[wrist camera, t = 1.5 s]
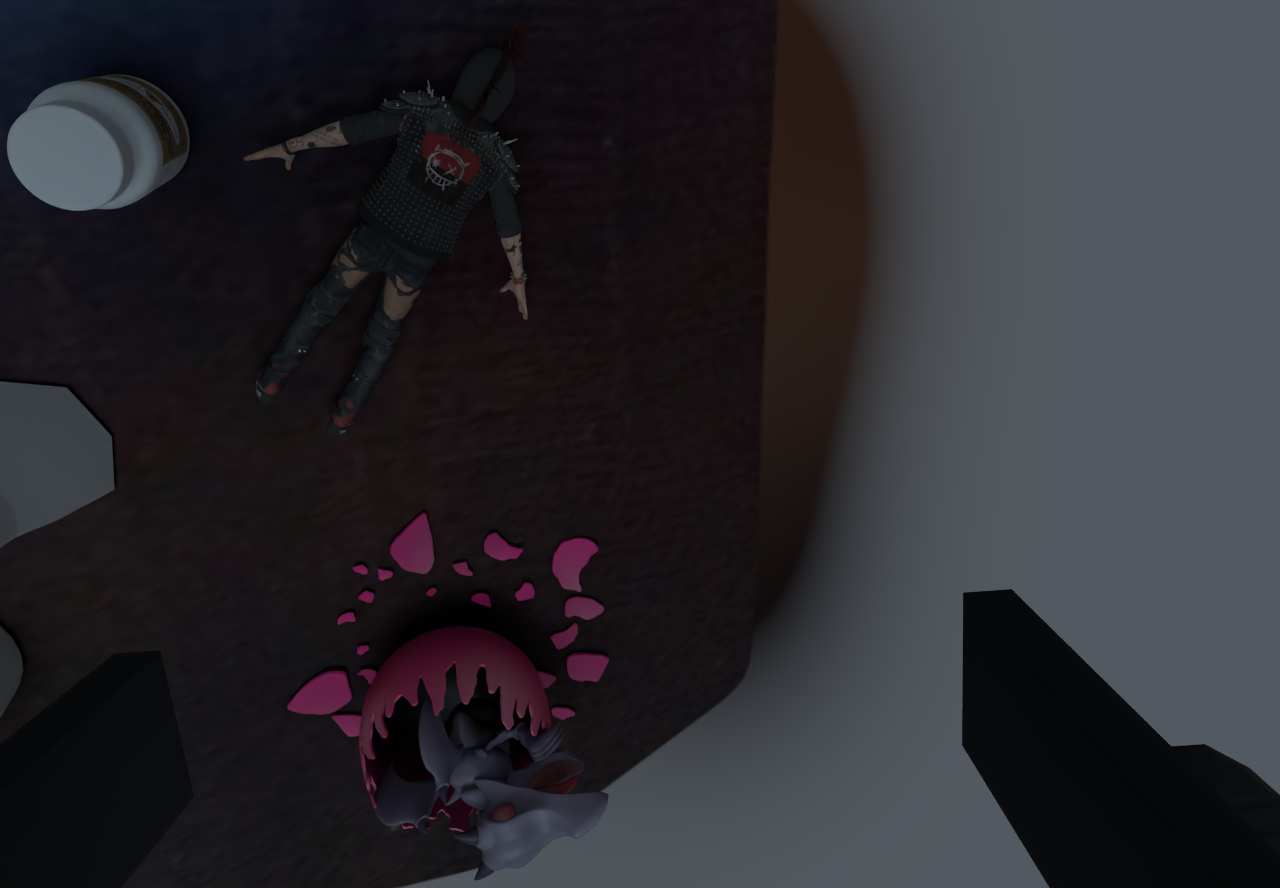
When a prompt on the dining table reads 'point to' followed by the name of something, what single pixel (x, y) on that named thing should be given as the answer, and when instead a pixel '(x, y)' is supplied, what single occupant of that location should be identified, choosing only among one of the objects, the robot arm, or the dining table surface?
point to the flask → (48, 457)
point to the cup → (8, 669)
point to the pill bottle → (98, 142)
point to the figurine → (409, 213)
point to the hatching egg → (470, 720)
